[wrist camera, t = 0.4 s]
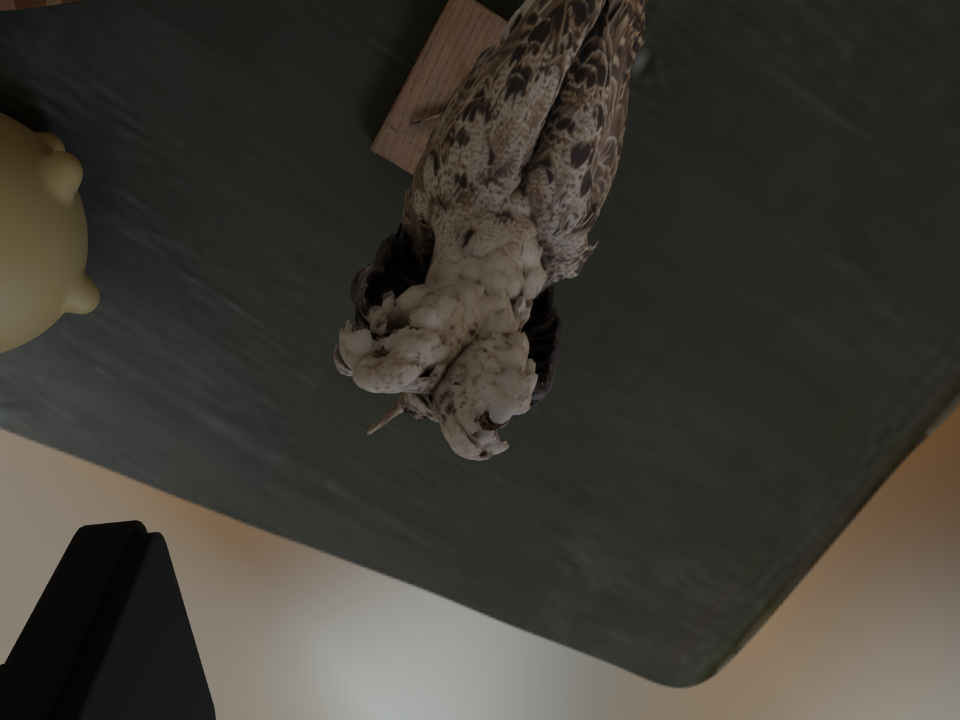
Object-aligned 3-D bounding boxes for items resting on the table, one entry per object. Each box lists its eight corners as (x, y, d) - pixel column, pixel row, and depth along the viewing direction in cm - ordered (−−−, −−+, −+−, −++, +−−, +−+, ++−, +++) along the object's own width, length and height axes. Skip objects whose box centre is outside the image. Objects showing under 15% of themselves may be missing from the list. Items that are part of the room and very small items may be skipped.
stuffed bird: (342, 303, 41) (309, 510, 26) (410, -159, 33) (422, -262, 17) (536, 333, 43) (614, 545, 27) (647, -99, 35) (848, -145, 19)
